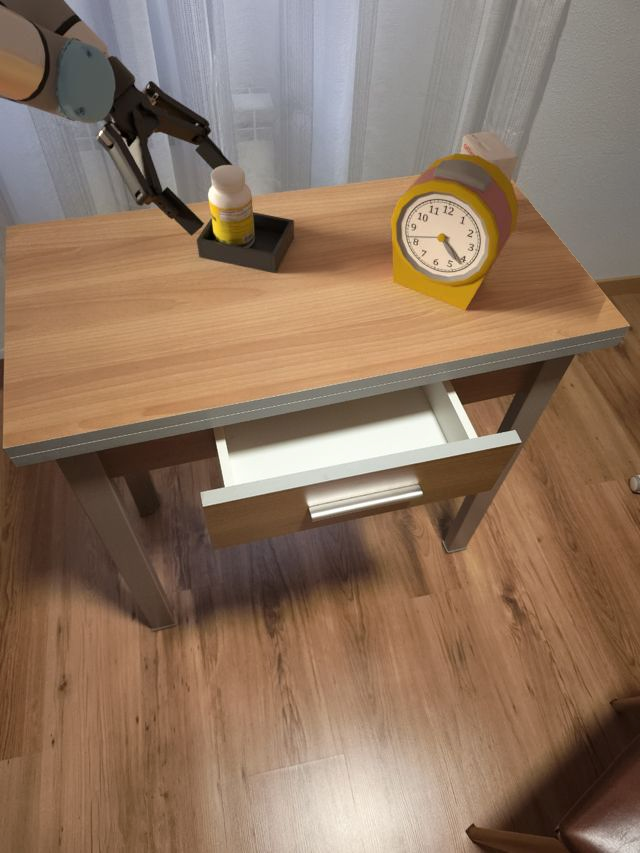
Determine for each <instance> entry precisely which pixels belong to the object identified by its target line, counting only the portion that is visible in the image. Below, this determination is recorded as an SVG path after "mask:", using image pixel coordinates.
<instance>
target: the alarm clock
mask: <svg viewBox="0 0 640 853" xmlns="http://www.w3.org/2000/svg"><path fill="white" fill-rule="evenodd" d="M518 213H519V201H518V198H517V196H516V193H515V189H514V186H513V183H512V181H511V182H510V181H509V180H508V178H507V177H506V176H505V175H504V173H503V172H502V171H501V170H500V169H499V167H498V166H496V165H494V164H492V163H490V162H489V161H487V160H485V159H483V158H481V157H479V156H476V155H466V154H460V153H453V154H450V155H448V156H444V157H442V158H438V159H436V160H435V161H434V162H433V163H432V164H430V165H429V166H428V167H427V169H425V170H424V171H423V172H422V173H421V174H420V175H419V177H418V178H416V180H415V181H414V182H413V184H411V185H410V186H409V188H408V189H407V190H406V191H405V192H404V193H403V194H402V196H400V198H399V199H398V200H397V202H396V204H395V207H394V210H393V213H392V215H391V218H390V223H391V224H390V226H391V240H392V241H391V243H392V246H391V247H392V248H391V249H392V282H393V283H395V284H396V285H397V284H398V285H400V286H403V287H405V288H407V289H410V290H412V291H415V292H418V293H421V294H423V295H425V296H428V297H430V298H433V299H436V300H438V301H441V302H444V303H446V304H449V305H451V306H454V307H456V308H459V309H461V310H464V311H466V309H467V308H468V306H469V305H470V304H471V302H472V300H473V298H475V296H476V294H477V292H478V291H479V289H480V288H481V286H482V285H483V283H484V282H485V280H486V278H487V276H488V274H489V272H490V271H491V269H492V268H493V266H494V264H495V263H496V261H497V259H498V257H499V256H500V254H501V252H502V250H503V249H504V247H505V245H506V244H507V242H508V240H509V238H510V237H511V235H512V233H513V232H514V231H515V229H516V226H517V220H518Z"/></svg>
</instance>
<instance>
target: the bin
mask: <svg viewBox="0 0 640 853" xmlns="http://www.w3.org/2000/svg"><path fill="white" fill-rule="evenodd" d="M253 220H254V232H255V240H254V243H253V244H252V246H251V247H249V248H245V247H241V246H236V245H231V244H226V243H221V242H216V241H215V238H214V232H213V225H212V218H210V219H209V221H208V222H207V224H206V225H205V227H204V228H203V229H202V231H201V233H200V234H199V235H198V237H197V239H196V246H197V252H198V257H199V258H200V259H201V258H202V259H206V260H210V261H216V262H219V263H225V264H229V265H234V266H239V267H243V268H244V267H245V268H249V269H253V270H259V271H262V272H268V273H272V274H277V272H278V270H279V268H280V266H281V264H282V262H283V261H284V258H285V256H286V254H287V252H288V250H289V248H290V246H291V244H292V242H293V240H294V238H295V221H294V220H295V219H290V218H285V217H279V216H274V215H269V214H264V213H259V212H254V211H253Z"/></svg>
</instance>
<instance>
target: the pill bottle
mask: <svg viewBox="0 0 640 853" xmlns="http://www.w3.org/2000/svg"><path fill="white" fill-rule="evenodd" d="M210 179H211V180H210V181H211V187H209V189H208V195H207V196H208V197H207V198H208V203H209V210H210V217H211V218H212V225H213V232H214V238H215V241H216V242H221V243H226V244H231V245H236V246H241V247H245V248H249V247H251V246H252V244H253V243H254V240H255V232H254V220H253V212H254V209H253V208H254V207H253V194H252V190H251V188H250V186H248V184H247V183H246V174H245V171H244V170H243V169H242V168H241V167H240V166H237V165H234V164H232V165H223V166H219V167H217V168H215V169H214V170H213V169H212V171H211V173H210ZM211 218H210V219H211Z"/></svg>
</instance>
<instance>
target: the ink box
mask: <svg viewBox="0 0 640 853" xmlns="http://www.w3.org/2000/svg"><path fill="white" fill-rule="evenodd" d="M459 154H466V155H476V156H479V157H481V158H483V159H485V160H487V161H489V162H490V163H492V164H494V165H496V166H498V167H499V169H500V170H501V171H502V172H503V173H504V175H505V176H506V177H507V178H508V180H509V181H510V182H511V183H512V178H513V176H514V173H515V168H516V165H517V162H518V160H519V156H518V155H517V154H516V153H515V152H514V151H513V150H511V149H510V148H509V146H507V145H506V144H505V143H504V142H503V141H502V140H501V139H499V137H497V136H496V135H495V134H494V133H493V132H492V131H491V130H486V131H480V132H474V133H469V134H465V135H464V136H463V138H462V142H461V147H460V152H459Z"/></svg>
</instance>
